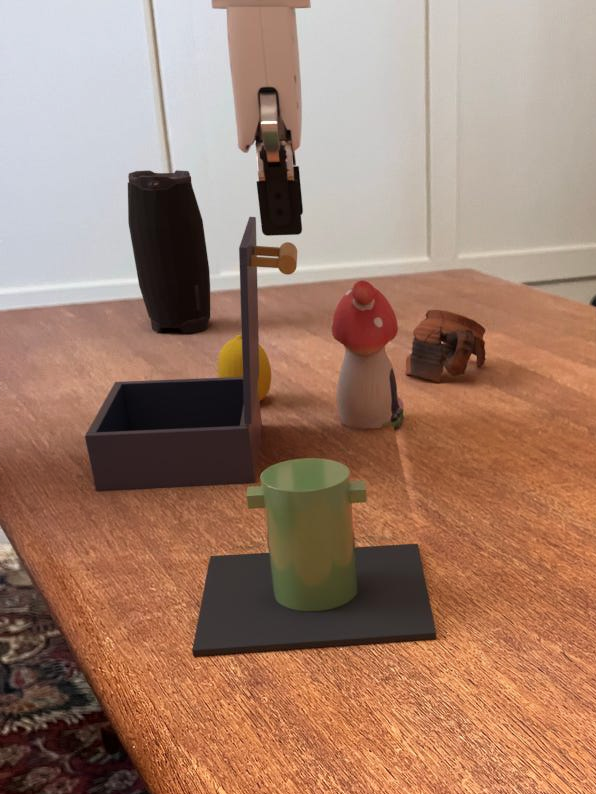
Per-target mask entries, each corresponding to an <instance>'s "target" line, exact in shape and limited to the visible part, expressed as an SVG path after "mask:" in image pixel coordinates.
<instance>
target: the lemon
mask: <svg viewBox="0 0 596 794" xmlns="http://www.w3.org/2000/svg"><path fill="white" fill-rule="evenodd" d="M226 377H243V360H242V333H240V334H236V336H235V337H234V338H232V339H230V340H228V341H227V342H226V343H225V344H224V345H223V346H222V348H221V349H220V351H219V353H218V359H217V378H226ZM271 383H272V367H271V364H270V360H269V358H268V355H267V352H266V351H265V349H264V348H263V347H262V346H261V344H259V378H258V393H259V401H260V402H261V401H262V400H264V398H265V397H266V396H267V395H268V393H269V391H270V389H271Z"/></svg>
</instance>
